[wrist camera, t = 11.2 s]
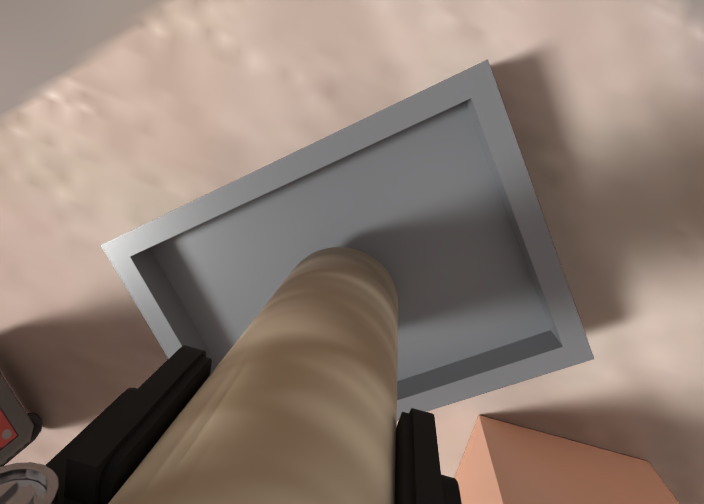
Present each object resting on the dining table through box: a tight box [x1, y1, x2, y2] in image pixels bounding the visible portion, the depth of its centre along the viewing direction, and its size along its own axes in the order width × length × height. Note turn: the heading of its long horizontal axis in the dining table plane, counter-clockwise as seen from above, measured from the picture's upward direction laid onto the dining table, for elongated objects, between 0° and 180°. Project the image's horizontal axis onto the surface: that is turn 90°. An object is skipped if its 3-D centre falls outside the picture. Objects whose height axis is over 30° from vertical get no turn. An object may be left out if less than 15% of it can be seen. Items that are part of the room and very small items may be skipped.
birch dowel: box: [108, 247, 399, 504], centre depth 11 cm, size 5×5×16 cm
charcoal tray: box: [101, 60, 594, 421], centre depth 20 cm, size 18×13×3 cm
